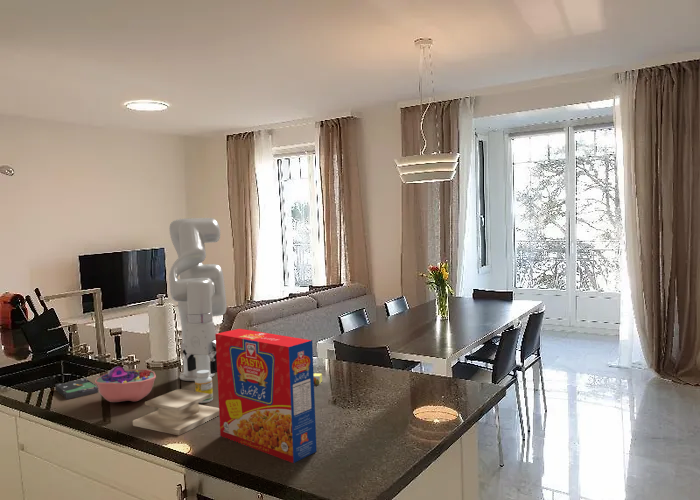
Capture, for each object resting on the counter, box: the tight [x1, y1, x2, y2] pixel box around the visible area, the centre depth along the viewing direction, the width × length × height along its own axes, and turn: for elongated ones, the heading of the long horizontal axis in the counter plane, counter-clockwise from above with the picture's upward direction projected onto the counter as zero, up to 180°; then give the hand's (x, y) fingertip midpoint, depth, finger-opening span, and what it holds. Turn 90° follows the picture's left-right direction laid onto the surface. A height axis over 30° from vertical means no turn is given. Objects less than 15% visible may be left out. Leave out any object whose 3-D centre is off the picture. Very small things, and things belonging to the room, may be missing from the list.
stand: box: [132, 388, 219, 436], centre depth 162 cm, size 18×18×6 cm
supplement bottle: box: [194, 370, 214, 404], centre depth 178 cm, size 5×5×10 cm
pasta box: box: [215, 328, 318, 464], centre depth 142 cm, size 28×8×28 cm, turn 50°
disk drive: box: [54, 377, 99, 400], centre depth 193 cm, size 10×3×15 cm
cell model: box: [94, 365, 157, 403], centre depth 181 cm, size 17×20×11 cm
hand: (203, 371), depth 177 cm, fingers open, 9 cm apart
